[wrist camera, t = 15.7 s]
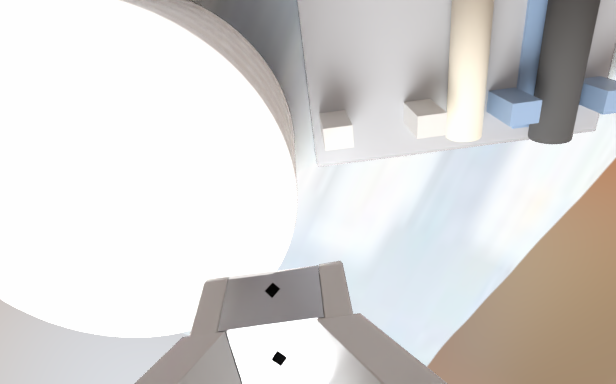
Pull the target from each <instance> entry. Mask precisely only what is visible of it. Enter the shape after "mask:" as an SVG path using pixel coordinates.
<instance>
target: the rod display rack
mask: <svg viewBox="0 0 616 384" xmlns="http://www.w3.org/2000/svg"><path fill="white" fill-rule="evenodd" d="M297 3H298V11H299V19H300V28H301V36H302V44H303V53H304V61H305V69H306V78H307V86H308V94H309V103H310V111H311V120H312V128H313V136H314V145H315V153H316V161H317V167H323V166H330V165H338V164H345V163H353V162H361V161H368V160H376V159H384V158H391V157H399V156H407V155H414V154H422V153H429V152H437V151H445V150H452V149H460V148H468V147H475V146H483V145H491V144H498V143H506V142H513V141H521V140H529V138H528V130H529V124H535V123H539V119H540V112H541V106H542V100H541V99H539V98H537V97H535V96H534V90H535V84H536V77H537V70H538V64H539V57H540V50H541V44H542V37H543V30H544V24H545V17H546V11H547V4H548V0H494V10H493V21H492V32H491V42H490V53H489V64H488V75H487V86H486V96H485V107H484V118H483V129H482V137H481V138H480V139H479V140H476V141H472V142H456V141H452V140H449V139H447V138H446V129H447V93H448V71H449V50H450V29H451V7H452V0H297ZM615 45H616V0H601V1H600V5H599V10H598V15H597V20H596V25H595V29H594V34H593V39H592V44H591V49H590V54H589V58H588V63H587V68H586V73H585V78H584V83H583V87H582V92H581V97H580V102H579V107H578V111H577V116H576V121H575V126H574V131H573V134H575V133H582V132H590V131H595V130H596V126H597V121H598V117H599V113H600V114H611V113H616V81H615V80H612V79H608V75H609V70H610V66H611V62H612V58H613V53H614V49H615Z"/></svg>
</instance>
